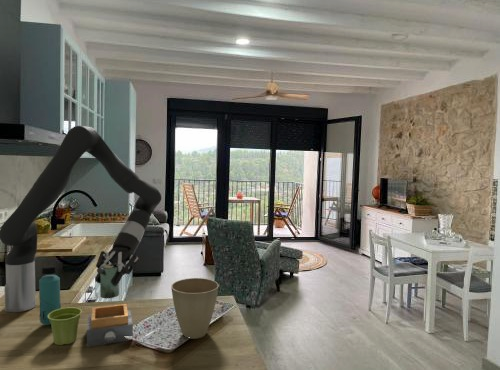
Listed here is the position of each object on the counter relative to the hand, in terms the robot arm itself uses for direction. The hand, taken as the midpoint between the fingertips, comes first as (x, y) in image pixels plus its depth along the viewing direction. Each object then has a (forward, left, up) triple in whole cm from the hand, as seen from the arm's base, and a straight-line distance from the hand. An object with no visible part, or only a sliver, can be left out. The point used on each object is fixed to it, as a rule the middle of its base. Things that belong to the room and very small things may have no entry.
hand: (105, 283), depth 119 cm
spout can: (0, +1, -4) cm, 4 cm away
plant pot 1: (-12, +1, -18) cm, 21 cm away
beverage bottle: (-17, +15, -17) cm, 29 cm away
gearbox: (+1, +1, -17) cm, 17 cm away
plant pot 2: (+27, -7, -17) cm, 33 cm away
